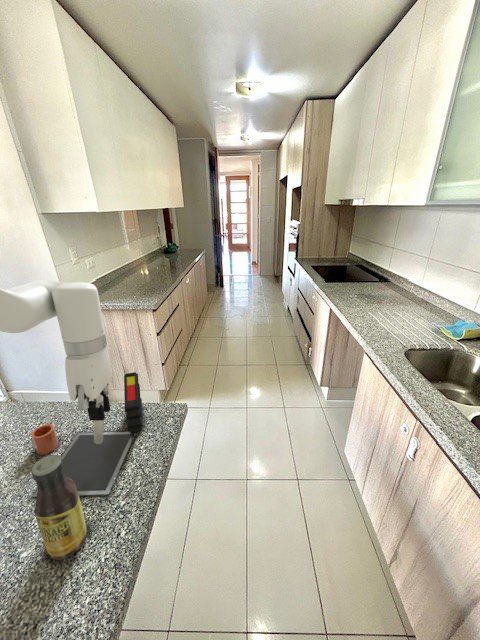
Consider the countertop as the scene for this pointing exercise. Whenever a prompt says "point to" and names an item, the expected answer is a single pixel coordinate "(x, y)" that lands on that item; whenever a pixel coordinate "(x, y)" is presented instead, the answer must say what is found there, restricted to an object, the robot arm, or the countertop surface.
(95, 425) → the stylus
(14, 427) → the countertop surface
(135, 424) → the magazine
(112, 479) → the tablet
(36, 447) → the holder
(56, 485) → the sauce bottle
